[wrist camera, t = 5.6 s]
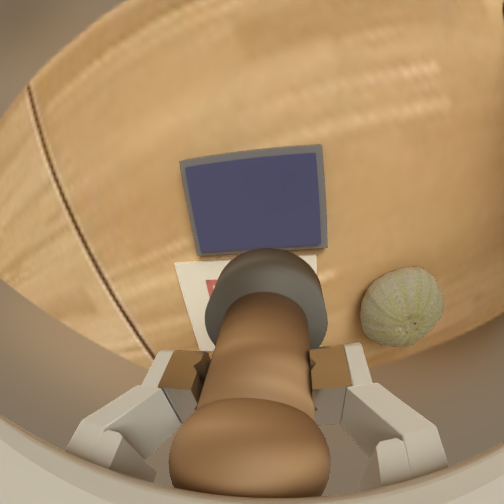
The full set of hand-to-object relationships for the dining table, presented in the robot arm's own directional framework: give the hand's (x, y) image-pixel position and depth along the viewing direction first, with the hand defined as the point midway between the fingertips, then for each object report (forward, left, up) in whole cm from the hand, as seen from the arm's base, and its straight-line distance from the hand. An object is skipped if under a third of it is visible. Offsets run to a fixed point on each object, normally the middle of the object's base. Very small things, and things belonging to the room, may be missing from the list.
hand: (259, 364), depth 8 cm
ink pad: (+2, 0, -18) cm, 18 cm away
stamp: (0, 0, -4) cm, 4 cm away
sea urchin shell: (-12, +11, -19) cm, 25 cm away
